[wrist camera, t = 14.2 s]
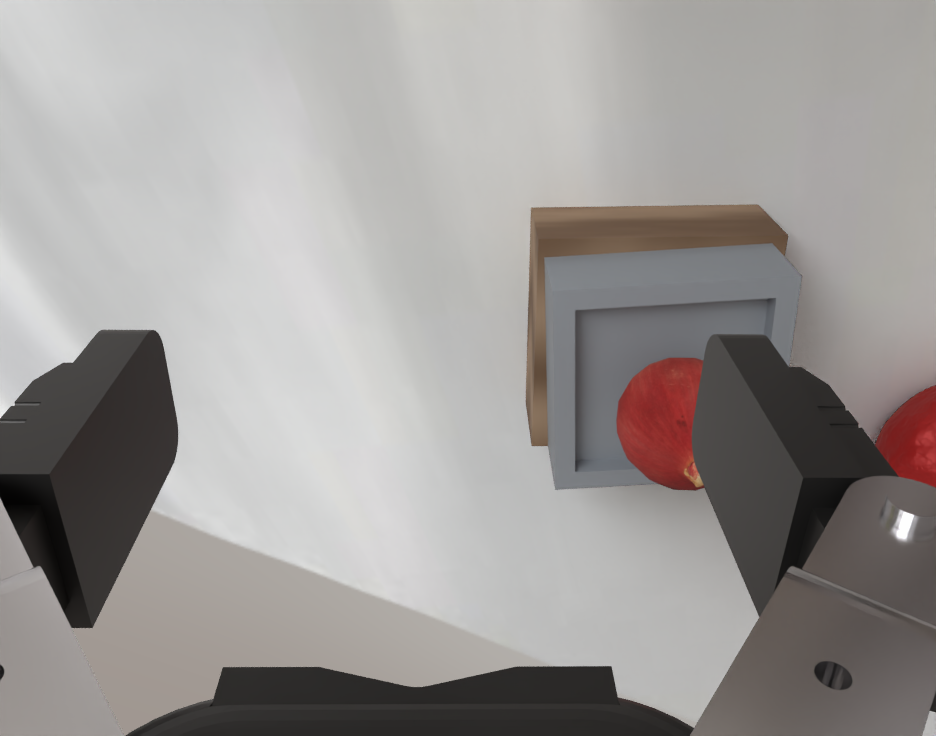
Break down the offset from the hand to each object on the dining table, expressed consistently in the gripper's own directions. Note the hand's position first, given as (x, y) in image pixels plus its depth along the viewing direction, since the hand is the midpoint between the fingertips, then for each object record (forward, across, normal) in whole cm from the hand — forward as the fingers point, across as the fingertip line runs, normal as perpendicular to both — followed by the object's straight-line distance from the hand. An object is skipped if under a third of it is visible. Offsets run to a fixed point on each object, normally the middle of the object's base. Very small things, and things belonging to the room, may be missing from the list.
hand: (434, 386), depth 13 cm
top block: (+28, -11, +14) cm, 33 cm away
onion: (+25, -11, +14) cm, 30 cm away
